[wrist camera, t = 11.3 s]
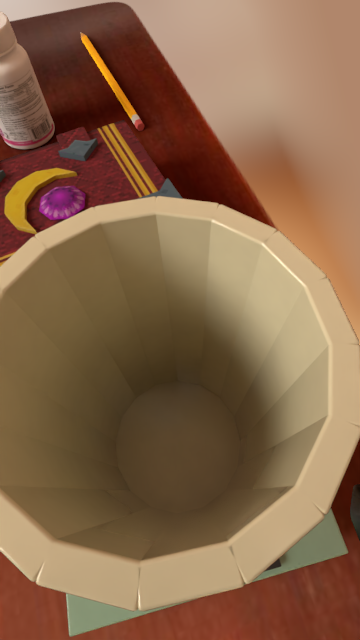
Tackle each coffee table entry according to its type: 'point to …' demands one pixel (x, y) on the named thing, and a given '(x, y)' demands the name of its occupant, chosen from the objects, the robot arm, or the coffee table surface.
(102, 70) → the pencil
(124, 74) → the coffee table surface
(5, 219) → the decorative book
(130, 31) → the coffee table surface
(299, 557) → the scale
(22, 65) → the pill bottle
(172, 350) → the cup
